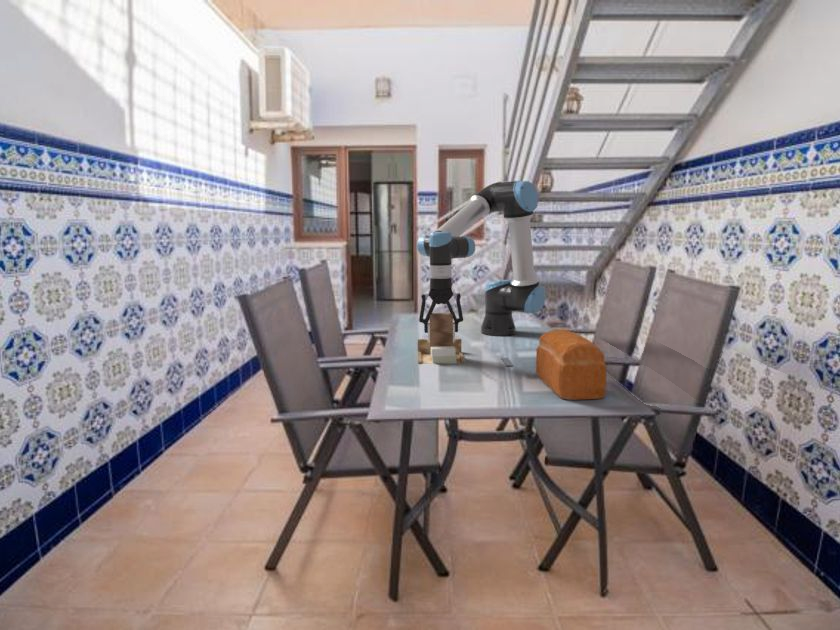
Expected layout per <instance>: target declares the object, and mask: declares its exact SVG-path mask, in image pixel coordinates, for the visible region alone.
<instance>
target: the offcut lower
mask: <svg viewBox="0 0 840 630" xmlns="http://www.w3.org/2000/svg"><path fill="white" fill-rule="evenodd" d="M456 359H457V356H456V353H455V356H433V363H449V364H457V363H456Z"/></svg>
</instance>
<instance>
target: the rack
mask: <svg viewBox="0 0 840 630" xmlns="http://www.w3.org/2000/svg"><path fill="white" fill-rule="evenodd" d="M453 346H454V347H455V353H456V356H457V359H456V363H455V364H466V360H465V358H464V357H465V356H464V354H463V352H462V338H455V342H453ZM417 364H419V365H420V364H422V365H423V364H425V365H432V364H433V365H435V364H438V365H439V364H441V365H442V364H444V365H445V364H448V365H449V364H450V363H433V356H432V355H431V348H430V343H428V338H417Z"/></svg>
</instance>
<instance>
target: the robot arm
mask: <svg viewBox="0 0 840 630" xmlns="http://www.w3.org/2000/svg"><path fill="white" fill-rule="evenodd" d="M538 205H539V192H538V190H537V188H536V186H535V185H534V184H533V183H532V182H531V181H529V180H514V181H513V180H511V181H499V182H498V181H497V182H495V183H494V182H493V183H491V184H489V185H487V186H485V187H483V188H482V189H480V190H478V192H476V193H475V194H474V195H473V196H471V198H470V199H469V201H468V203H467V204H466V205H465V206H464V207H462V208H461V209H460V210H459V211H458V212H456V213H455V214H454V215H453V216H452V217H451V218H449V219H448V220H447V221H446V222H444V223H443V224H442V225H441V226H440V227H439V228H438V229H436V230H435V231H433V232H431V233H430V234H429V235H423V236H420V237H419V238H418V240H417V243H416V249H417V251H418V253H419V254H420V255H421V256H424V257H428V258H429V276H430V278H429V292H428V293H421V294H420V295H421V304H420V305H421V306H420V311H419V312H420V313H419V318H418V320H419V323H422V324H424V325H423V326H424V329H423V330H424V333H425V334H427V339H428V343H430V315H431V314H432V313H434V311H435V310H434V309H435V307H436V305H441V304H442V305H446V306H447V308H448V310H449V313H451V314H453V342H455V339H456V333H458V332H459V323H462V322H464V316H463V311H462V303H461V296H462V294H461V293H460V292H453V283H452V282H453V281H452V278H451V277H452V273H453V272H452V268H453V267H452V265H453V263H452V262H453V261H452V260H453V259H461V258H462V259H466V258H469V257H471V256H473V255H474V254H475V251H476V243H475V240H474V239H473V238H472V237H470V236H469V235H468V236H465V235H463V234H464V233H465V232H467V230H468V229H470V228H471V227H472V226H473V225H475V224H476V222H478V221H479V220H480V219H481V218H485V217H488V215H490V214H492V213H499V212H501V213H503V219H505V220H506V221H507V223H508V235H509V242H510V243H509V244H510V245H509V246H510V254H511V264H512V265H511V266H512V274H513V275H512V276H513V278H512V279H502V280H491V281H487V283H486V284H485V291H484V293H485V295H484V296H485V297H484V299H485V301H484V303H485V310H484V311H485V313H484V314H485V315H484V316H483V321H482V323H481V326H480V333H481V334H484V335H488V336H495V337H496V336H497V337H499V336H500V337H501V336H502V337H503V336H511V335H514V334H516V331H517V330H516V329H517V328H516V325H515V322H514V319H513V312H517V313H525V314H537V313H538V312H540V311H541V310H542V308H543V307H544V305H545V302H546V297H547V296H546V295H547V294H546V293H547V292H546V289H545V288H544V286H542V285H540V279H539V278H537V277H536V276H535V265H534V252H533V251H534V250H533V241H532V239H533V238H532V228H531V227H532V226H531V218H532V217H533V215H534V211H535V210H536V209H537V207H538ZM429 298H430V299H431V305H430V307H429V309H428V312H427V313H426V316H425V317H424V315H425V308H426V303H427V300H428V299H429ZM452 298H453V299H454V300H455V303H456V308H457V309H456V310H457V313H458V318H457V316H456V314H455V311H454V309H453V306H452V305H451V303H450V300H451V299H452Z"/></svg>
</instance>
